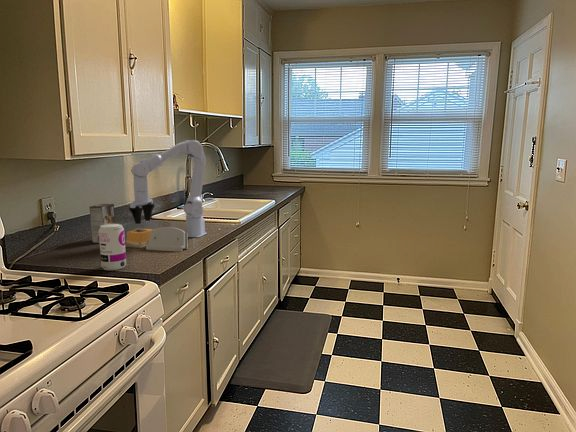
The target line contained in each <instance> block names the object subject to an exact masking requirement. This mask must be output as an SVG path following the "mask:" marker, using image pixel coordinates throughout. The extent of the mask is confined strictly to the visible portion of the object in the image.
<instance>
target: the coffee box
mask: <svg viewBox="0 0 576 432" xmlns="http://www.w3.org/2000/svg"><path fill="white" fill-rule="evenodd" d="M115 212H116V211H115V203H99V204H95V205H91V206H89V216H90V227H91V239H92V243H98V244H100V241H99V229H100V226H101V225H105V224H116V215H115V214H116V213H115Z"/></svg>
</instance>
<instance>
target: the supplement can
mask: <svg viewBox="0 0 576 432" xmlns="http://www.w3.org/2000/svg"><path fill="white" fill-rule="evenodd" d="M125 237H126V236H125V228H124V227H123V224H121V223H115V224H105V225H101V226H100V229H99V241H100V243H99V252H100V264H101V268H102V269H103V270H105V271H117V270H121V269H124V268H125V266H127V253H126V247H125V241H126V240H125V239H126V238H125Z"/></svg>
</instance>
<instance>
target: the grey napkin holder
mask: <svg viewBox="0 0 576 432" xmlns="http://www.w3.org/2000/svg"><path fill="white" fill-rule="evenodd" d="M188 239H189V237H188V234H187V232H186V230H183V229H180V228H177V227H172V226H162V227H157V228H153V230H152V231H151V234H150V238H149V242H148V244H147V246H145V250H147V251H163V252H164V251H165V252H166V251H167V252H181V253H183V250H189V249H188V247H189V246H188V243H189V242H188V241H189V240H188Z"/></svg>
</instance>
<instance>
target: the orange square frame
mask: <svg viewBox="0 0 576 432" xmlns="http://www.w3.org/2000/svg"><path fill="white" fill-rule="evenodd" d="M137 229H138V228H135V229H132V230H130V231H126V241H131V242H146V241H149V238H150V234H151V231H152V230H153V229H154V228H153V229H151V228H141V229H142V232H137Z"/></svg>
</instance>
